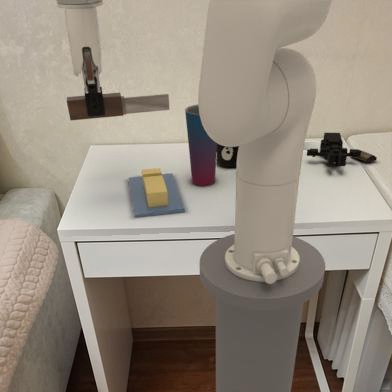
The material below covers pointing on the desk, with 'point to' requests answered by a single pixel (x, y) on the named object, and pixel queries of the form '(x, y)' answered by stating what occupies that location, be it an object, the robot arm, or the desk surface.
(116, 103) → the knife
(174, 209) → the butter plate
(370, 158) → the block
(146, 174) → the butter pat
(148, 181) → the butter bar
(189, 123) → the cup
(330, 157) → the toy
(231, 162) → the beverage can
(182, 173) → the desk surface
